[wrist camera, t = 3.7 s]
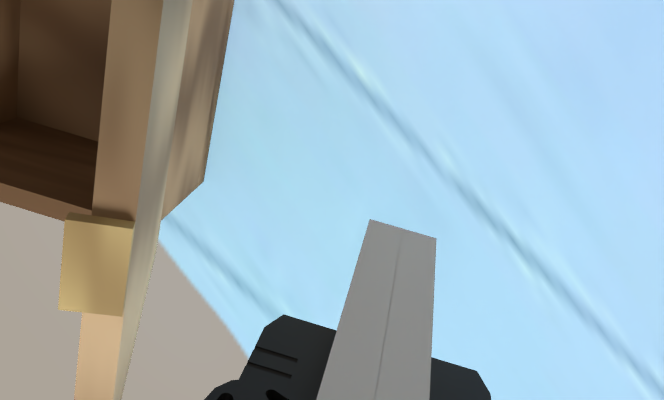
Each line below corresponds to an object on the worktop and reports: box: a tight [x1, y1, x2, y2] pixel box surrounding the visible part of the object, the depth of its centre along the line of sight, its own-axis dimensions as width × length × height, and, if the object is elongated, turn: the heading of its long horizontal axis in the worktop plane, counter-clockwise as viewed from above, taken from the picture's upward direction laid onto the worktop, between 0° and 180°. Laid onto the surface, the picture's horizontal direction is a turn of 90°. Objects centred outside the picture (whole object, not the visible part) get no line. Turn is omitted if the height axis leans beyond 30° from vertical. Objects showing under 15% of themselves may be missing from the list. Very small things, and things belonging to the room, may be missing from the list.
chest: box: [0, 0, 234, 221], centre depth 25 cm, size 11×10×7 cm
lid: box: [58, 0, 193, 400], centre depth 17 cm, size 11×10×1 cm
